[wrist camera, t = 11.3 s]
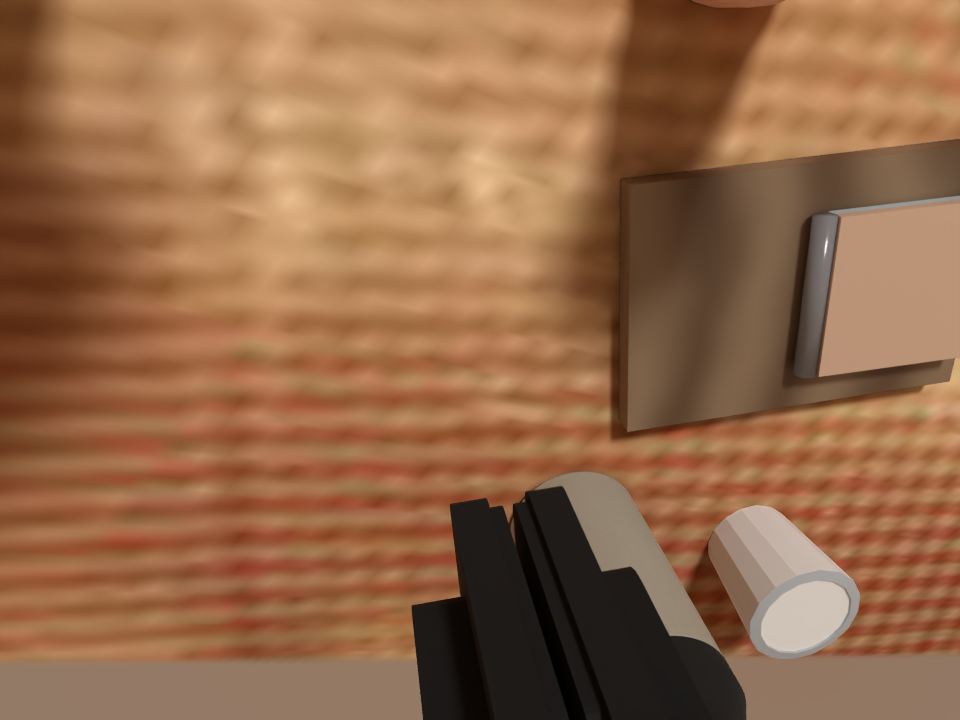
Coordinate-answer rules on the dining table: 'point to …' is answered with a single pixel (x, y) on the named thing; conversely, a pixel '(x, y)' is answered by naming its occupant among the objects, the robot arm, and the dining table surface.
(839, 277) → the tile
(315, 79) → the dining table surface
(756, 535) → the white cup
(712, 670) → the travel mug
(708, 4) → the salt shaker
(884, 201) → the board
